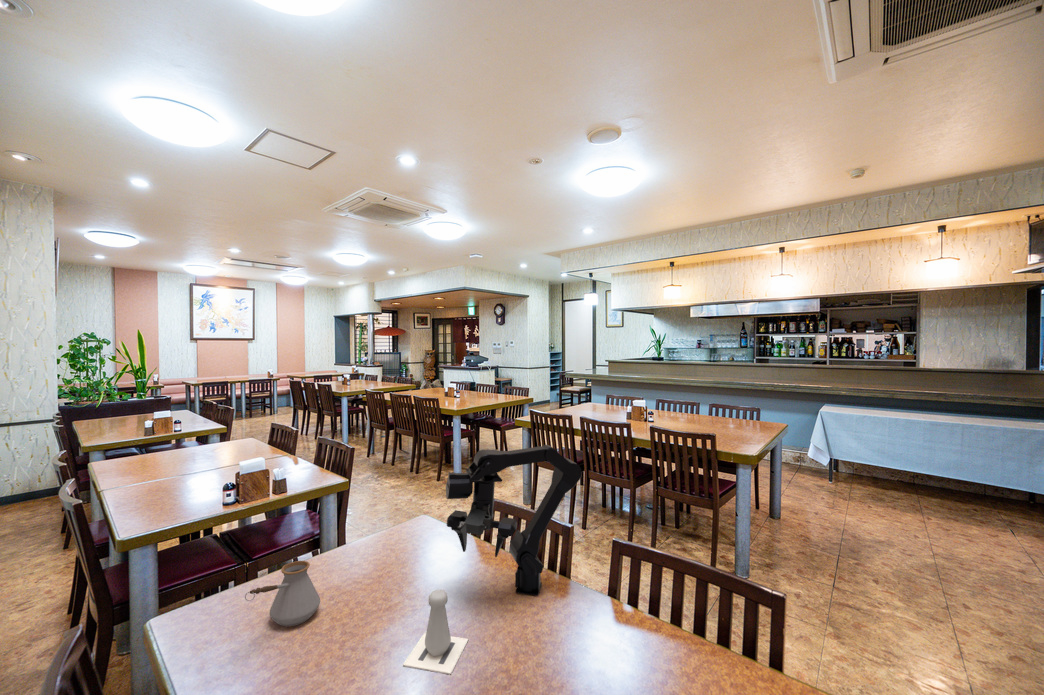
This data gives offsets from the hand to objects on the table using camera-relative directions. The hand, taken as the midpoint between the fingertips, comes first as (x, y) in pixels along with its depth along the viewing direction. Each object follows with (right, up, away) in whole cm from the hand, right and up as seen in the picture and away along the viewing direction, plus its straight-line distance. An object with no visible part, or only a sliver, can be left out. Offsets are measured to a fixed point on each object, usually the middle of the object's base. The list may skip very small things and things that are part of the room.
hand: (480, 553), depth 120 cm
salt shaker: (-7, -12, -22) cm, 26 cm away
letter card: (-8, -12, -22) cm, 26 cm away
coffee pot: (-47, -12, -14) cm, 50 cm away
